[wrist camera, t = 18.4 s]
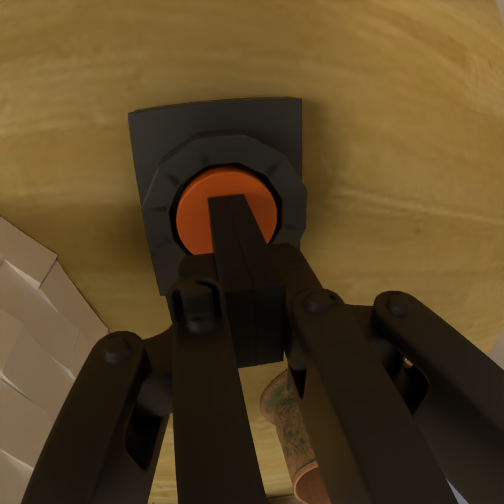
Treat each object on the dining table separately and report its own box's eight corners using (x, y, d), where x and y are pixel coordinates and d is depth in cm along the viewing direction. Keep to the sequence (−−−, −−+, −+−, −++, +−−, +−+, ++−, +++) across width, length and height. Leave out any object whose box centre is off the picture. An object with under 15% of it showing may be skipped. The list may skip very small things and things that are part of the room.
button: (172, 167, 14) (169, 178, 12) (267, 158, 14) (277, 167, 13) (184, 252, 16) (183, 270, 15) (269, 242, 17) (277, 259, 15)
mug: (428, 310, 26) (502, 404, 16) (332, 423, 33) (366, 509, 23) (334, 284, 22) (420, 423, 12) (241, 421, 29) (264, 528, 19)
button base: (135, 109, 14) (118, 117, 11) (289, 96, 16) (316, 100, 12) (162, 275, 19) (158, 317, 16) (289, 259, 20) (308, 297, 17)
